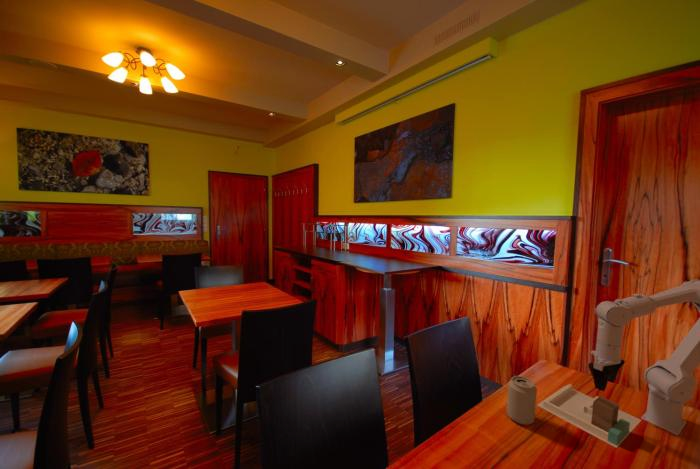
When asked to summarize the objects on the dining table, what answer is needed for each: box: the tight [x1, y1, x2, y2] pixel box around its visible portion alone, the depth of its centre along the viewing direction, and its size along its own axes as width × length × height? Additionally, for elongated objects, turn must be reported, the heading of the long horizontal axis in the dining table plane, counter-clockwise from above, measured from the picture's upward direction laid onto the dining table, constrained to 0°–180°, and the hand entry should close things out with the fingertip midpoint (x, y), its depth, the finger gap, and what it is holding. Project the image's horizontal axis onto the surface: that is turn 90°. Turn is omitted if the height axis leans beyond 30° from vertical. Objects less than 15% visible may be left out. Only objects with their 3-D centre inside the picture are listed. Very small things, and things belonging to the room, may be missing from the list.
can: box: [506, 375, 538, 426], centre depth 94 cm, size 8×8×12 cm
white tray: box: [536, 383, 642, 449], centre depth 97 cm, size 20×20×4 cm
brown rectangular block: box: [591, 395, 620, 432], centre depth 90 cm, size 4×4×8 cm
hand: (604, 385), depth 95 cm, fingers open, 7 cm apart
